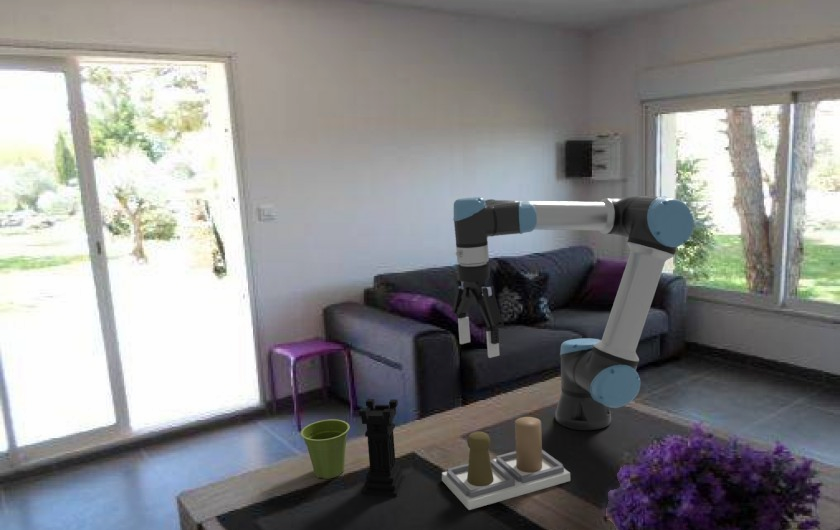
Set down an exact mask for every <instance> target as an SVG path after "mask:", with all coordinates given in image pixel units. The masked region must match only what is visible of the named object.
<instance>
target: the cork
mask: <svg viewBox="0 0 840 530" xmlns="http://www.w3.org/2000/svg"><path fill="white" fill-rule="evenodd" d="M466 443H467V446H468V448H469V455H468V456H469V457H468V463H469V465H468V475H467V481H468V482H469V483H470V484H471V485H474V486H487V485H489V484H491V483H492V482H493V480H494V478H493V473H492V467H491V462H490V460H491V457H490V453H489V452H490V450H489V448H490V446H491V438H490V436H489V434H488V433H486V432H484V431H473V432H471V433H470V434H469V435H468V437H467V440H466Z"/></svg>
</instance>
